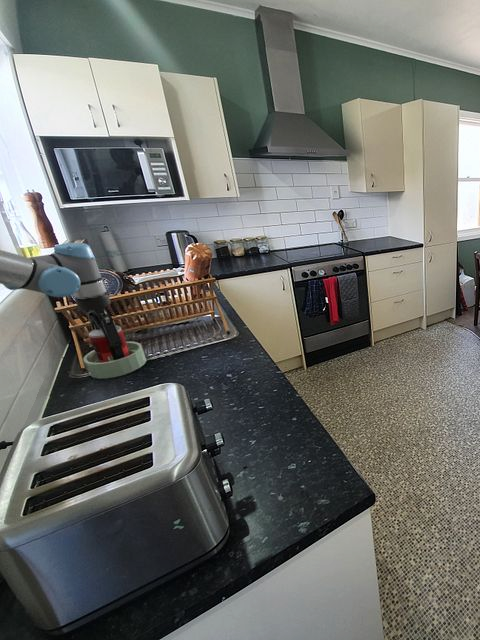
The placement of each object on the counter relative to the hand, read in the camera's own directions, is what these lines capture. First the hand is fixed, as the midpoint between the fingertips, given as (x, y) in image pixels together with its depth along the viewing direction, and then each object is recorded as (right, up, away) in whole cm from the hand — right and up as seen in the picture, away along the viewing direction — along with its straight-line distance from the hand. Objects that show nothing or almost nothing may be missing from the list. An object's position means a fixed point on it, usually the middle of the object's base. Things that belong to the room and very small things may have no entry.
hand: (115, 359), depth 114 cm
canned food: (0, 0, 0) cm, 0 cm away
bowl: (0, -3, +2) cm, 3 cm away
